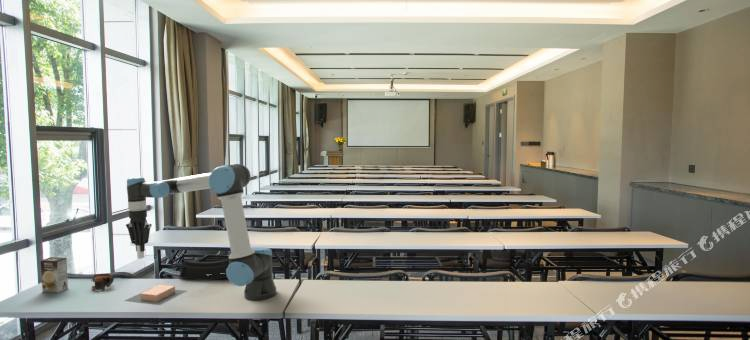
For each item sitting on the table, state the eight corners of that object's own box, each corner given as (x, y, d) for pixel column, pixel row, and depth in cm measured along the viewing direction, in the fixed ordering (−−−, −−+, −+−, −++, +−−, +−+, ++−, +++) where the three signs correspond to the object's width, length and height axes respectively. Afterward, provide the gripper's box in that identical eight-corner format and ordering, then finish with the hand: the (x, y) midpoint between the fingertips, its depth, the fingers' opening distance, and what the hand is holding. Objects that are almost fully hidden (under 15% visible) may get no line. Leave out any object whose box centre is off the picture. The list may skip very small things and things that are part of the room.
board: (159, 290, 209) (175, 292, 206) (140, 299, 197) (156, 301, 195) (159, 284, 208) (174, 286, 206) (140, 293, 197) (156, 295, 194)
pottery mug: (85, 292, 210) (87, 275, 213) (100, 294, 218) (102, 278, 222) (106, 287, 208) (107, 270, 211) (121, 289, 217) (122, 273, 220)
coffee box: (41, 292, 208) (39, 260, 207) (52, 287, 215) (50, 256, 213) (58, 292, 207) (56, 261, 206) (69, 288, 214) (67, 257, 212)
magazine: (174, 263, 225) (226, 247, 224) (177, 261, 229) (228, 246, 228) (184, 293, 227) (236, 277, 226) (187, 290, 230) (238, 275, 229)
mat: (187, 292, 208) (187, 290, 208) (160, 306, 191) (160, 305, 191) (153, 288, 213) (153, 287, 213) (124, 302, 196) (124, 300, 196)
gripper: (155, 208, 203) (158, 256, 204) (132, 208, 206) (136, 255, 208) (142, 211, 195) (146, 260, 197) (119, 210, 199) (123, 259, 200)
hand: (140, 257), depth 202 cm, fingers closed
